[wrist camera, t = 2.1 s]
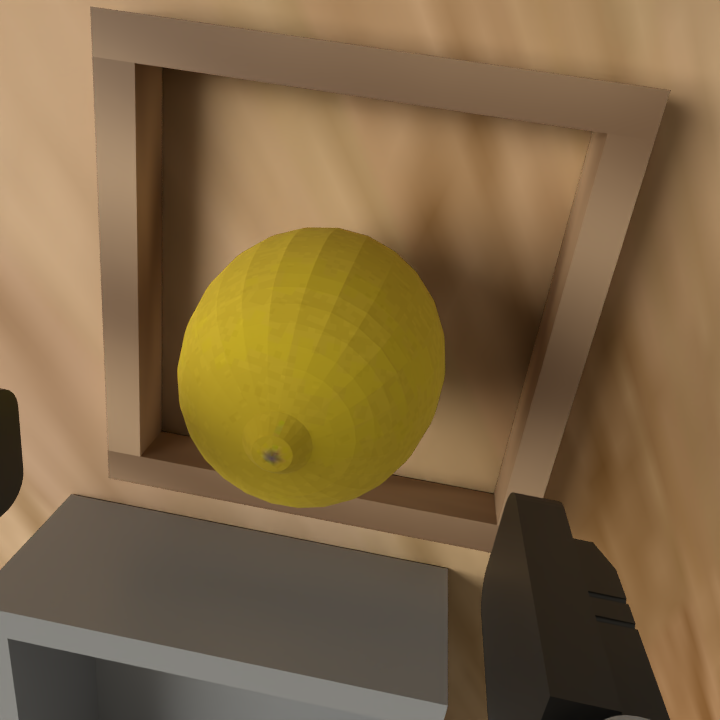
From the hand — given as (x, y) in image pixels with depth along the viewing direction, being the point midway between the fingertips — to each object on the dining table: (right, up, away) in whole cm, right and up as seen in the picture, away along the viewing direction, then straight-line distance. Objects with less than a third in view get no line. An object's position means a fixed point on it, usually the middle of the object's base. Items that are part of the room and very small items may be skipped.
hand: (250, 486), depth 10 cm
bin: (-3, -10, +14) cm, 17 cm away
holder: (+1, +4, +7) cm, 8 cm away
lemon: (+1, +4, +7) cm, 8 cm away
